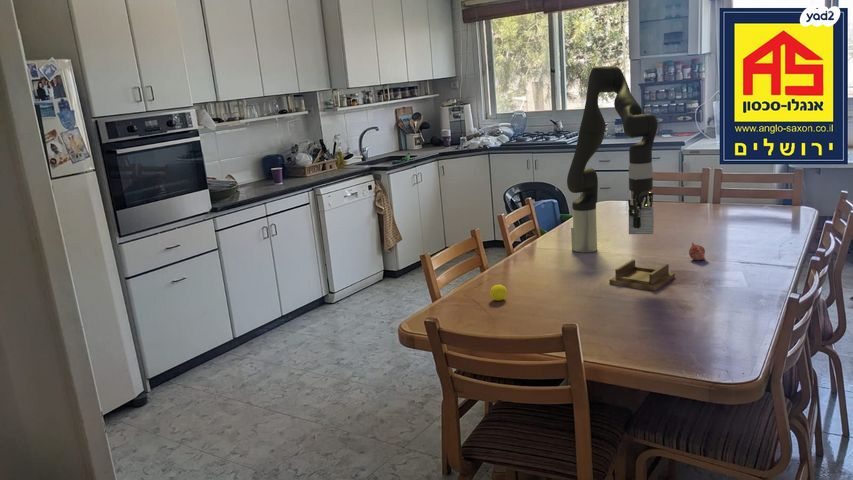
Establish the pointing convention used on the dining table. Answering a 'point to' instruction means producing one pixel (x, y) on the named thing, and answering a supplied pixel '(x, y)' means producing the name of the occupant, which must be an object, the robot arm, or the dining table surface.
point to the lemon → (498, 292)
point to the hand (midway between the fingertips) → (641, 225)
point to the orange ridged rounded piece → (697, 252)
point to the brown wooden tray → (641, 276)
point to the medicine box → (643, 222)
